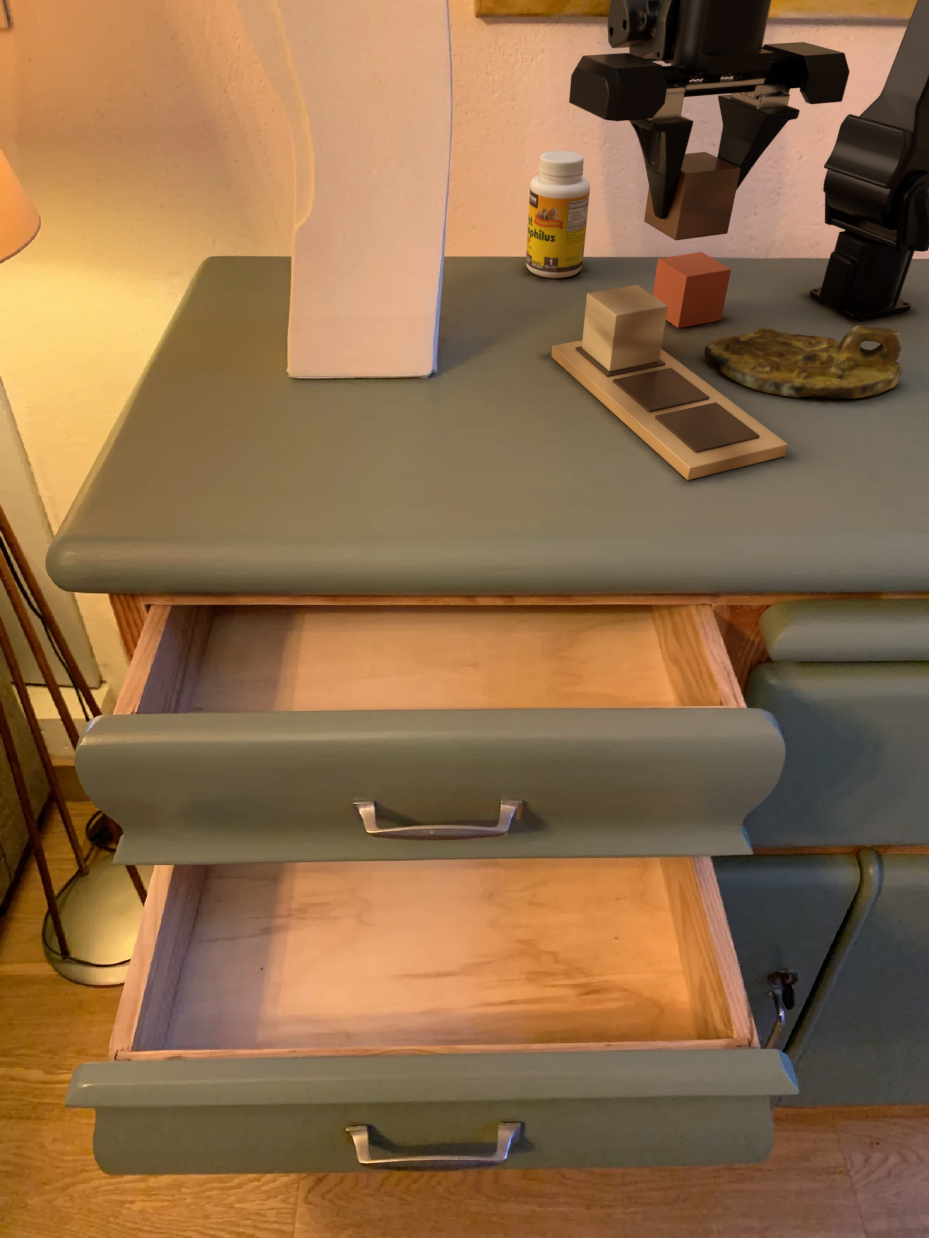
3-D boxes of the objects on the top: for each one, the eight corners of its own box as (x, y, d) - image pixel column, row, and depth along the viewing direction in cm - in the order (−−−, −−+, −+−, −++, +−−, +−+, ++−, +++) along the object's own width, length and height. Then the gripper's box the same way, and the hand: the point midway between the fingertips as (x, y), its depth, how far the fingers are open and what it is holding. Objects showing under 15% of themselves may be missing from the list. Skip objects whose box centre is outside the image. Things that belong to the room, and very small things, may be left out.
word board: (635, 341, 75) (644, 273, 72) (785, 456, 62) (806, 380, 58) (550, 357, 73) (556, 288, 69) (687, 480, 59) (703, 403, 56)
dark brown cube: (694, 215, 69) (705, 151, 66) (727, 234, 65) (741, 167, 62) (643, 221, 67) (652, 156, 64) (675, 241, 64) (686, 173, 61)
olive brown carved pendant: (697, 399, 70) (899, 420, 67) (707, 345, 66) (921, 365, 64) (705, 337, 76) (890, 354, 73) (714, 285, 72) (910, 301, 70)
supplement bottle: (514, 267, 88) (518, 154, 81) (557, 255, 90) (565, 144, 83) (550, 285, 84) (558, 168, 78) (594, 272, 87) (605, 158, 80)
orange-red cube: (692, 301, 82) (701, 251, 79) (721, 320, 79) (731, 269, 76) (650, 309, 80) (657, 258, 77) (677, 328, 77) (686, 276, 74)
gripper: (778, -64, 64) (731, 172, 74) (542, -59, 58) (527, 195, 69) (887, -48, 56) (818, 213, 66) (627, -41, 50) (596, 242, 61)
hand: (688, 214), depth 66 cm, fingers closed on dark brown cube, 4 cm apart
